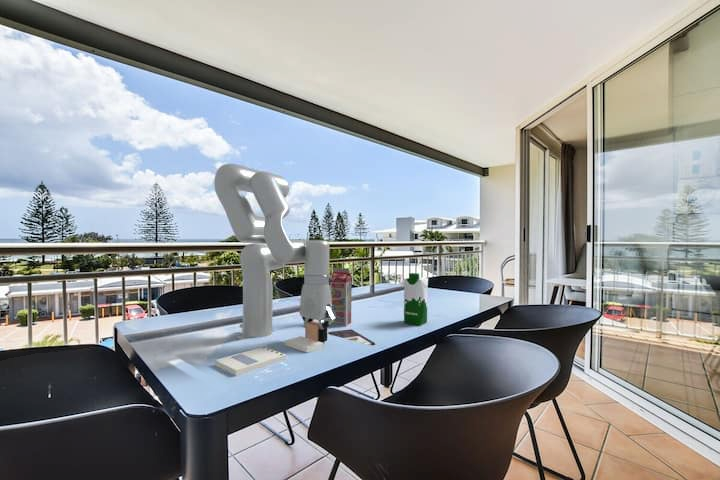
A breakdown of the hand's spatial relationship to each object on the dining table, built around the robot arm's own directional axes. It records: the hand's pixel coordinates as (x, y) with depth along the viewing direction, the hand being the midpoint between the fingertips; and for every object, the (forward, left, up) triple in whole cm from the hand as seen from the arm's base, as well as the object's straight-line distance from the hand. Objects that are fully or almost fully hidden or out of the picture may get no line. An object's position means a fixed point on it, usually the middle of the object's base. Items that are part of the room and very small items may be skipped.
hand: (316, 339), depth 101 cm
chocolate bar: (+2, +14, -3) cm, 14 cm away
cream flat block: (0, -22, -1) cm, 22 cm away
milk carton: (+7, +48, -3) cm, 48 cm away
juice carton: (-14, +26, -3) cm, 29 cm away
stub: (0, -3, -1) cm, 4 cm away
